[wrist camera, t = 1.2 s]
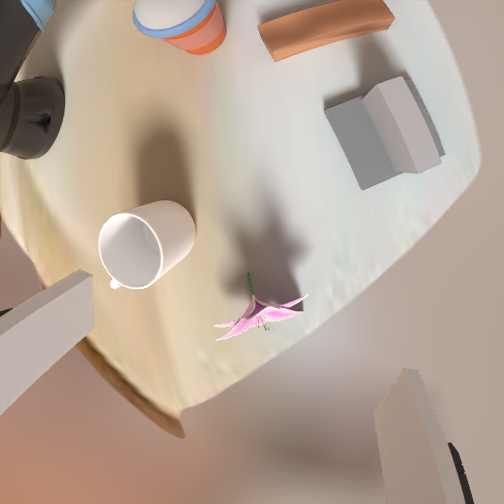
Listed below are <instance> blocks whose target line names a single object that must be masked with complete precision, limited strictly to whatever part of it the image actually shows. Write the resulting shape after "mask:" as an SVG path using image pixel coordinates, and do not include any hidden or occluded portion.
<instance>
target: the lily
mask: <svg viewBox="0 0 504 504" xmlns="http://www.w3.org/2000/svg"><path fill="white" fill-rule="evenodd" d="M247 278H248V282H249V286H250V290H251V294H252V301H251V304H250V305H249V307H248V309H247V310H246V312H245V313H244V315H243V316H242V317H241V318H239V319H237V320H234V321H231V322H226V323H222V324H217V325H213V326H215V327H230V326H233V325H235V324H236V326H235V327H234V328H233V329H232V330H231V331H230V332H229V333H228V334H226V335H225V336H223V337H221V338H219V339H217V340H222V339H226V338H230V337H233V336H236V335H238V334H240V333H243V332H244V331H246V330H247V329H249V328H250V327H256V326H258V328H259V325H262V324H263V327H264V328H265V325H266V324H265V325H264V323H266V322H267V321H280V320H284V319H287V318H290V317H292V316H295V315H297V314H299V313H301V312H303V311H300V312H296V311H292V310H288V309H285V308H288V307H291V306H293V305H295V304H297V303H298V302H300V301H301V300H303V299H304V298H306V297H307V296H308V295H306V296H303V297H301V298H299V299H297V300H294V301H292V302H289V303H286V304H283V305H273V304H268V303H265V302H262V301H259V300H257V299H256V298H255V295H254V292H253V288H252V284H251V280H250V276H249V273H247ZM266 327H267V326H266ZM267 328H268V327H267ZM265 330H267V329H266V328H265ZM268 330H269V328H268ZM217 340H215V341H217Z"/></svg>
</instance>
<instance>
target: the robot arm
mask: <svg viewBox="0 0 504 504" xmlns="http://www.w3.org/2000/svg"><path fill="white" fill-rule="evenodd" d="M55 9H56V1H55V0H0V152H4V153H7V154H11V155H14V156H17V157H18V158H21V159H26V160H27V159H36V158H39V157H41V156H43V155H44V154H45V153H46V152H47V151H48V150H49V149H50V147H51V146H52V144H53V143H54V141H55V139H56V137H57V135H58V132H59V130H60V127H61V123H62V119H63V114H64V93H63V89H62V87H61V85H60V83H59V82H58V81H57V80H56V79H54V78H51V77H46V76H39V77H35V78H33V79H27V80H22V81H18V82H14V80H15V78H16V76H17V74H18V72H19V70H20V68H21V66H22V64H23V62H24V61H25V59H26V57H27V55H28V54H29V52H30V50H31V49H32V47H33V45H34V44H35V42H36V40H37V39H38V37H39V36H40V34H41V33H43V31H44V28H45V26H46V24H47V23H48V21H49V20H50V18H51V16H52V15H53V13H54V12H55ZM94 328H95V327H94V309H93V275H92V274H89V273H87V272H85V271H82V270H78V271H76V272H74V273H73V274H71V275H69V276H67V277H66V278H64V279H62V280H60V281H59V282H57V283H55V284H53V285H52V286H50V287H48V288H47V289H45V290H43V291H41V292H40V293H38V294H36V295H35V296H33V297H31V298H30V299H28V300H27V301H25V302H23V303H22V304H20V305H19V306H17V307H15V308H14V309H13V308H11V309H7V310H4V311H0V415H1V414H2V413H3V412H4V411H5V410H6V409H7V408H8V407H9V406H10V405H11V404H12V403H13V402H14V401H15V400H16V399H17V398H18V397H19V396H20V395H21V394H22V393H23V392H24V391H25V390H26V389H27V388H29V386H31V385H32V384H33V383H34V382H35V381H36V380H37V379H38V378H39V377H40V376H41V375H42V374H44V372H46V371H47V370H48V369H49V368H50V367H51V366H52V365H53V364H54V363H55V362H57V361H58V360H59V359H60V358H61V357H62V356H63V355H64V354H65V353H66V352H68V351H69V350H70V349H71V348H72V347H73V346H74V345H75V344H77V343H78V342H79V341H80V340H81V339H82V338H83V337H84V336H86V335H87V334H88V333H89V332H90V331H91V330H92V329H94ZM373 417H374V422H375V428H376V433H377V439H378V445H379V451H380V457H381V464H382V471H383V478H384V486H385V495H386V504H474V502H473V498H472V494H471V491H470V487H469V484H468V481H467V477H466V474H464V472H465V471H464V468H463V465H461V464H462V462H461V459H460V456H459V453H458V451H457V450H456V449H455V447H454V446H453V445H452V443H447V441H446V438H445V435H444V432H443V430H442V427H441V424H440V422H439V419H438V417H437V414H436V411H435V409H434V406H433V404H432V402H431V399H430V397H429V394H428V392H427V390H426V387H425V385H424V383H423V380H422V378H421V376H420V374H419V371H418V370H412V369H406V368H403V370H402V371H401V373H400V375H399V376H398V378H397V379H396V381H395V382H394V384H393V385H392V387H391V388H390V390H389V391H388V393H387V394H386V395H385V397H384V398H383V400H382V401H381V402H380V404H379V405H378V407H377V408H376V409H375V410H374V412H373Z"/></svg>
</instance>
